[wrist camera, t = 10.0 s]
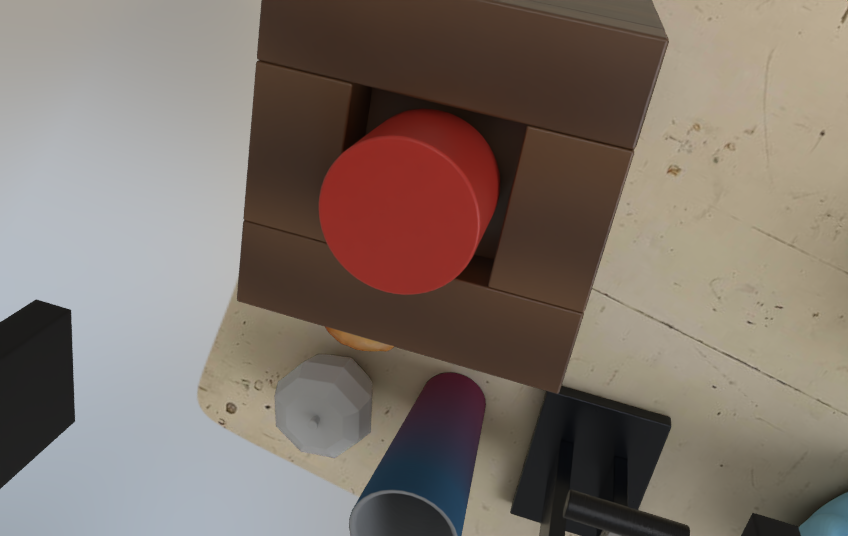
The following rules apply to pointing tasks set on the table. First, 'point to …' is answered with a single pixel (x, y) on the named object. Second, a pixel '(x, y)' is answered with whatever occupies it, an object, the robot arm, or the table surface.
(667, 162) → the table surface
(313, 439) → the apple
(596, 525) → the lever
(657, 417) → the bracket
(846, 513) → the teapot
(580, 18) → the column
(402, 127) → the button
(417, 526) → the cup
